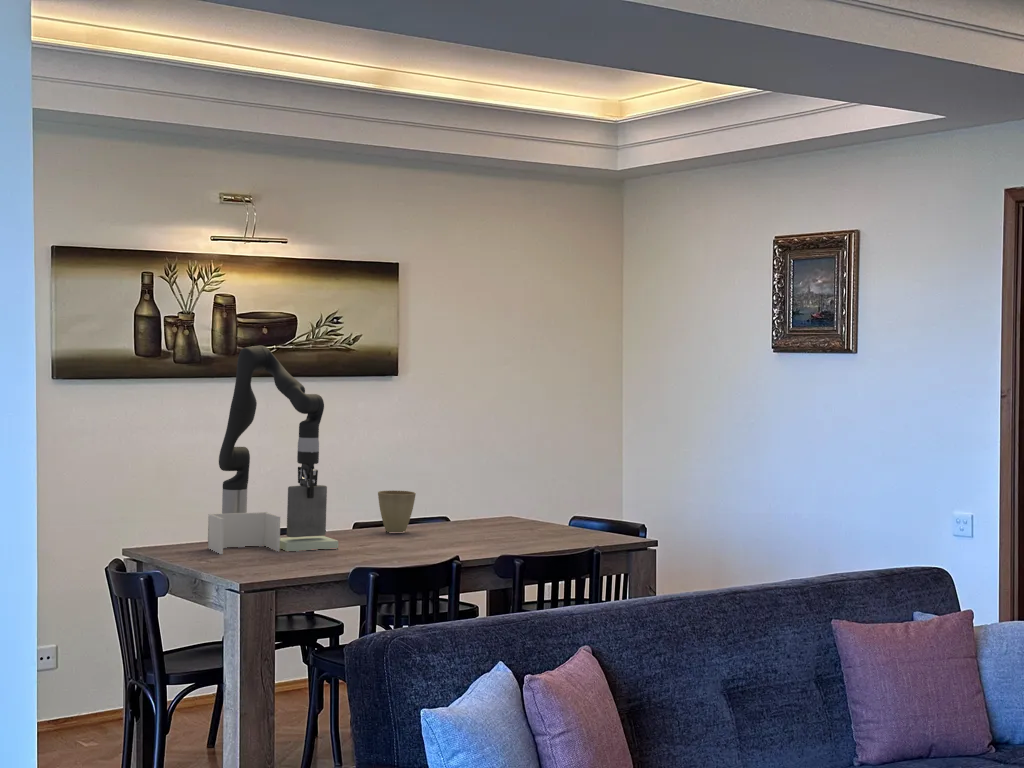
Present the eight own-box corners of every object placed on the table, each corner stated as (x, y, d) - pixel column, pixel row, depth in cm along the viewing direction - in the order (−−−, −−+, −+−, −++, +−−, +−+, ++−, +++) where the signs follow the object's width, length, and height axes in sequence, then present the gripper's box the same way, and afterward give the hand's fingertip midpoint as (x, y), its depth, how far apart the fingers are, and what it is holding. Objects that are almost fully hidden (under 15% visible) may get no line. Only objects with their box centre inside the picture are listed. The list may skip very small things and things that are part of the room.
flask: (320, 533, 444) (321, 477, 444) (328, 535, 439) (329, 479, 439) (282, 535, 435) (284, 479, 434) (290, 537, 430) (292, 480, 430)
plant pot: (370, 533, 480) (371, 492, 480) (385, 529, 495) (386, 489, 494) (406, 536, 476) (407, 495, 476) (420, 531, 490) (421, 491, 490)
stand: (273, 546, 438) (273, 538, 438) (323, 544, 448) (323, 535, 448) (286, 551, 426) (287, 543, 426) (338, 549, 436) (338, 540, 436)
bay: (207, 548, 429) (208, 514, 429) (265, 545, 439) (266, 512, 439) (219, 554, 416) (220, 518, 416) (279, 551, 427) (280, 516, 427)
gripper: (291, 448, 441) (289, 495, 441) (305, 451, 429) (304, 499, 429) (311, 448, 445) (309, 494, 445) (325, 451, 432) (324, 499, 433)
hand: (306, 497), depth 437 cm, fingers closed on flask, 6 cm apart
